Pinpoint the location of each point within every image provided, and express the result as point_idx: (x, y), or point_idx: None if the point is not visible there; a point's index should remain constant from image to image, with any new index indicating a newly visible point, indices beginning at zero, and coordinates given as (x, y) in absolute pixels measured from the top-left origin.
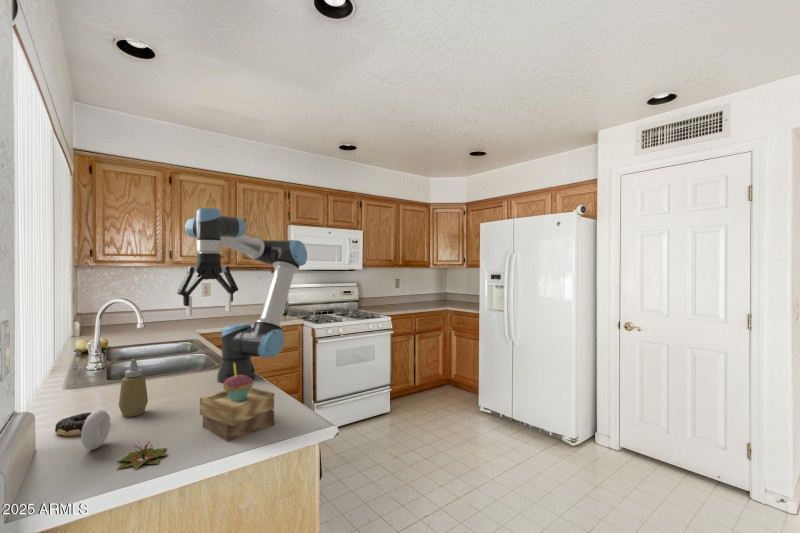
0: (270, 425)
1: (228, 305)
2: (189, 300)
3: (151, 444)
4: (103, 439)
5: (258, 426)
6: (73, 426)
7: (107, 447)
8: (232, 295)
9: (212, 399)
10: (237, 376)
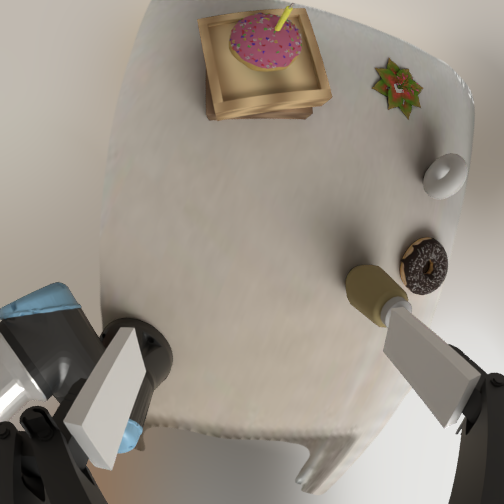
0: None
1: (122, 360)
2: (461, 359)
3: (397, 84)
4: (429, 170)
5: None
6: (441, 246)
7: (420, 163)
8: (59, 414)
9: (305, 90)
10: (271, 29)
